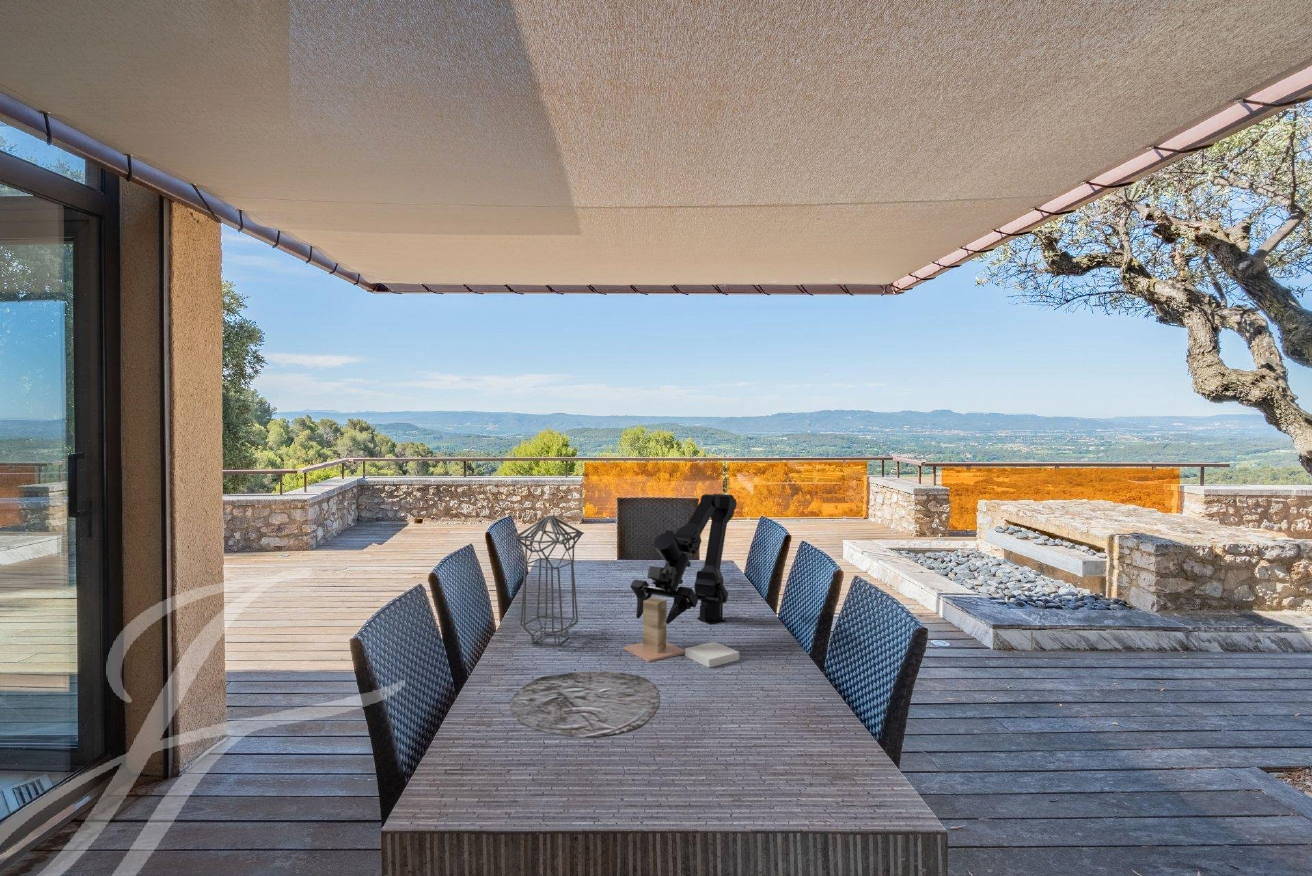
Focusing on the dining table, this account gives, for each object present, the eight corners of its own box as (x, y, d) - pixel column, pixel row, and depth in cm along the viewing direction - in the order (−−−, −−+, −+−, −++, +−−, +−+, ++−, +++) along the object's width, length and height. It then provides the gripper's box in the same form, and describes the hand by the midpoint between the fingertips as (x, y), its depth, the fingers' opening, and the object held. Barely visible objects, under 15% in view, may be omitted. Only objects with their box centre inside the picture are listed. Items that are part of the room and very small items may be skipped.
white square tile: (714, 648, 184) (714, 641, 184) (739, 659, 175) (739, 652, 175) (684, 655, 178) (685, 648, 178) (709, 667, 170) (709, 659, 170)
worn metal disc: (515, 748, 128) (515, 746, 128) (505, 679, 162) (505, 678, 162) (684, 728, 137) (684, 726, 137) (641, 667, 170) (641, 665, 170)
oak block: (652, 644, 185) (652, 597, 184) (666, 647, 182) (666, 599, 182) (643, 649, 181) (643, 601, 181) (657, 652, 179) (657, 603, 178)
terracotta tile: (660, 640, 190) (660, 638, 190) (686, 653, 180) (686, 650, 180) (623, 648, 183) (623, 646, 183) (648, 662, 173) (648, 659, 173)
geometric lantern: (561, 652, 180) (562, 521, 179) (509, 645, 185) (510, 517, 184) (586, 634, 195) (587, 513, 194) (538, 629, 200) (538, 510, 199)
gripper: (634, 550, 189) (610, 598, 180) (693, 558, 179) (671, 609, 170) (649, 573, 196) (627, 620, 187) (706, 581, 186) (686, 632, 177)
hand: (652, 620), depth 180 cm, fingers open, 9 cm apart
